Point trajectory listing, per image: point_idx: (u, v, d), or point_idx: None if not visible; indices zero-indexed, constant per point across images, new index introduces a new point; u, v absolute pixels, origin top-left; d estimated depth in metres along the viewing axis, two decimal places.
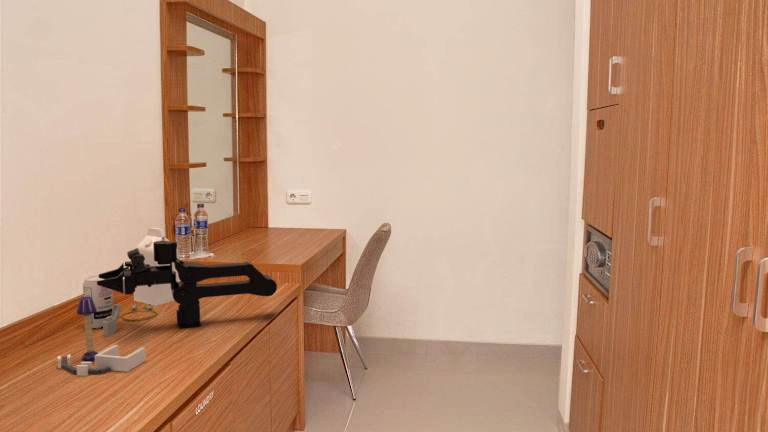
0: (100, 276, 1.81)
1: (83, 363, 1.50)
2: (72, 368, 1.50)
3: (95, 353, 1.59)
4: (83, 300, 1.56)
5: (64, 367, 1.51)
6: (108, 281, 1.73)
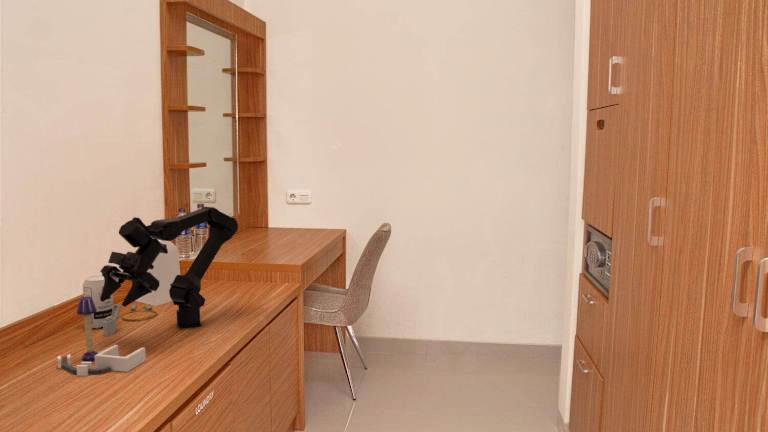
0: (102, 300, 1.66)
1: (83, 363, 1.50)
2: (72, 368, 1.50)
3: (95, 353, 1.59)
4: (83, 300, 1.56)
5: (64, 367, 1.51)
6: (131, 295, 1.62)
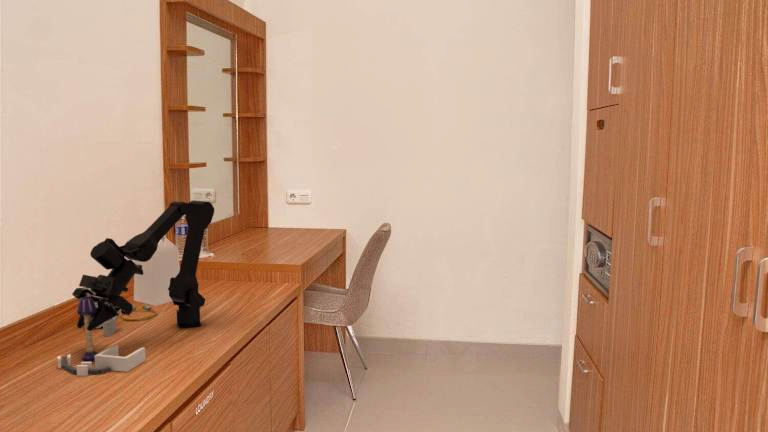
0: (79, 326, 1.58)
1: (83, 363, 1.50)
2: (72, 368, 1.50)
3: (95, 353, 1.59)
4: (83, 300, 1.56)
5: (64, 367, 1.51)
6: (96, 319, 1.57)
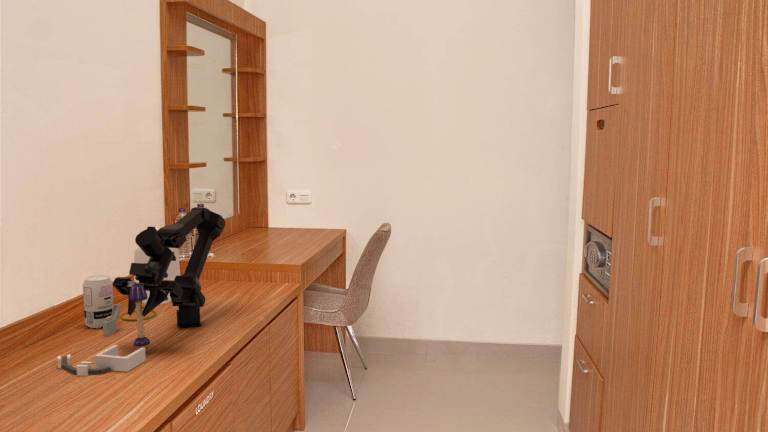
0: (130, 313, 1.62)
1: (83, 363, 1.50)
2: (72, 368, 1.50)
3: (147, 338, 1.64)
4: (137, 287, 1.60)
5: (64, 367, 1.51)
6: (150, 305, 1.62)
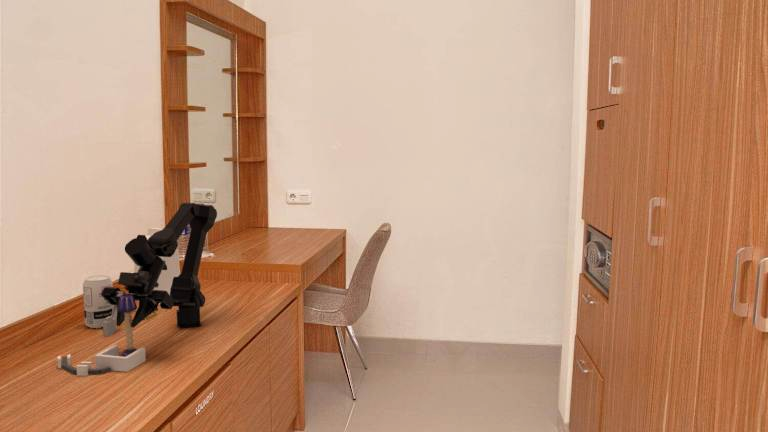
0: (118, 324, 1.57)
1: (83, 363, 1.50)
2: (72, 368, 1.50)
3: None
4: (126, 297, 1.55)
5: (64, 367, 1.51)
6: (139, 315, 1.57)
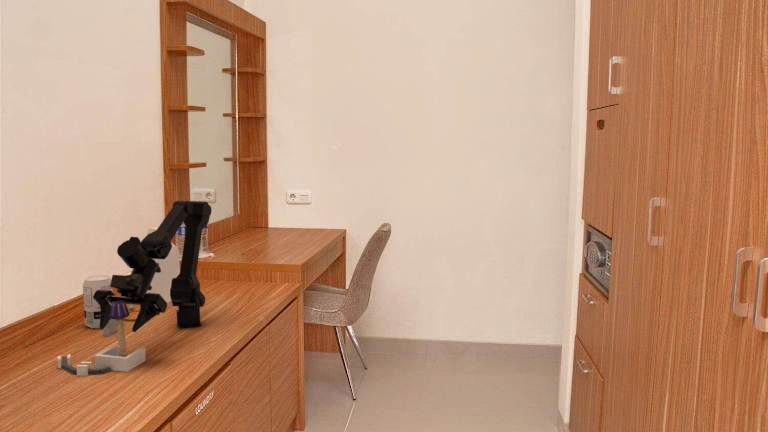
0: (102, 327, 1.55)
1: (83, 363, 1.50)
2: (72, 368, 1.50)
3: None
4: (118, 304, 1.52)
5: (64, 367, 1.51)
6: (141, 320, 1.54)
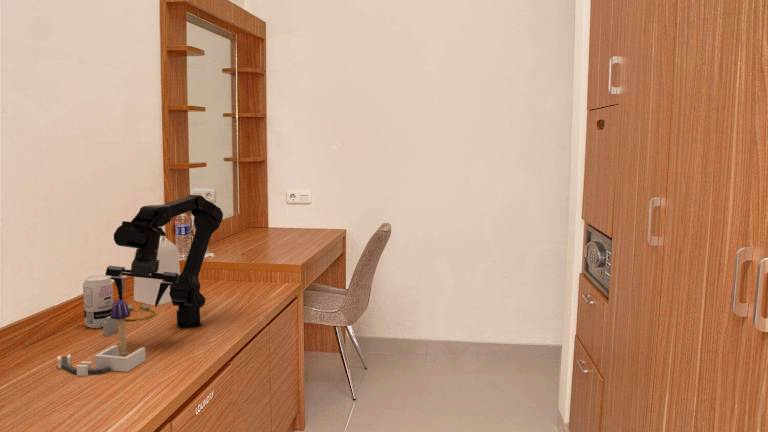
0: None
1: (83, 363, 1.50)
2: (72, 368, 1.50)
3: None
4: (119, 304, 1.53)
5: (64, 367, 1.51)
6: (161, 296, 1.69)
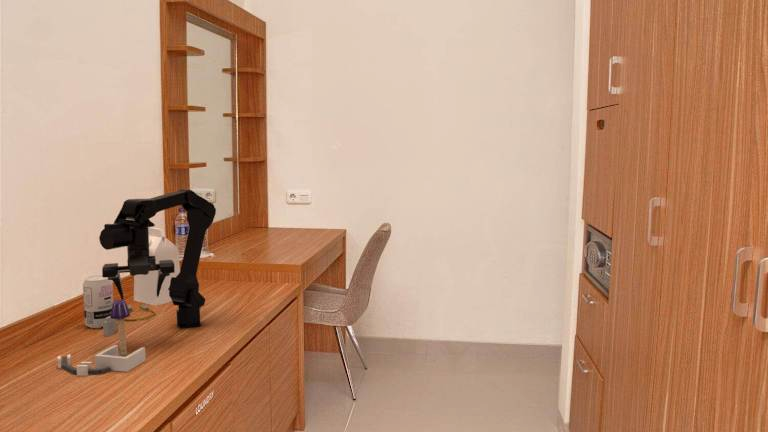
0: (122, 298, 1.69)
1: (83, 363, 1.50)
2: (72, 368, 1.50)
3: None
4: (119, 304, 1.53)
5: (64, 367, 1.51)
6: None
